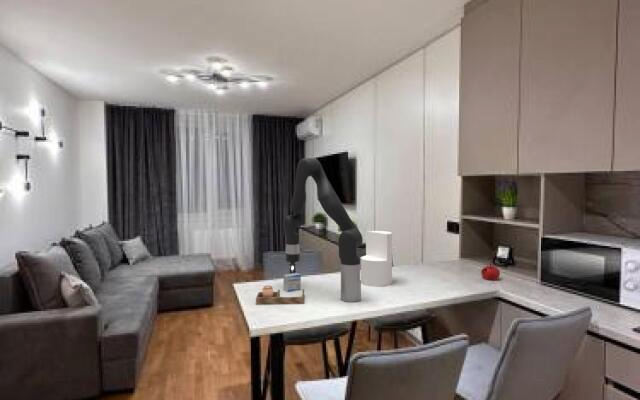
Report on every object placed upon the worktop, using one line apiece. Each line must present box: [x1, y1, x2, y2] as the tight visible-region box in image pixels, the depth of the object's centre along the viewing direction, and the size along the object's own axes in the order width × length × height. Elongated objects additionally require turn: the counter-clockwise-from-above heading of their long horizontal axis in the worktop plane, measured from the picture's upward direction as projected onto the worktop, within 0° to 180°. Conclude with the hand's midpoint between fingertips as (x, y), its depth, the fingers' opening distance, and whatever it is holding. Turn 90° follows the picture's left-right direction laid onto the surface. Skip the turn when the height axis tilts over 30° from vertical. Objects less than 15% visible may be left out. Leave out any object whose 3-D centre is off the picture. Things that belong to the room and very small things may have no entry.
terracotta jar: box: [261, 285, 274, 297], centre depth 176 cm, size 5×5×7 cm
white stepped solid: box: [360, 230, 393, 288], centre depth 210 cm, size 17×17×28 cm
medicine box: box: [282, 272, 302, 293], centre depth 194 cm, size 8×4×9 cm, turn 122°
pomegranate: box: [480, 262, 501, 281], centre depth 217 cm, size 10×10×9 cm
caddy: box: [255, 288, 305, 306], centre depth 178 cm, size 22×13×4 cm, turn 92°
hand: (292, 284), depth 203 cm, fingers closed
